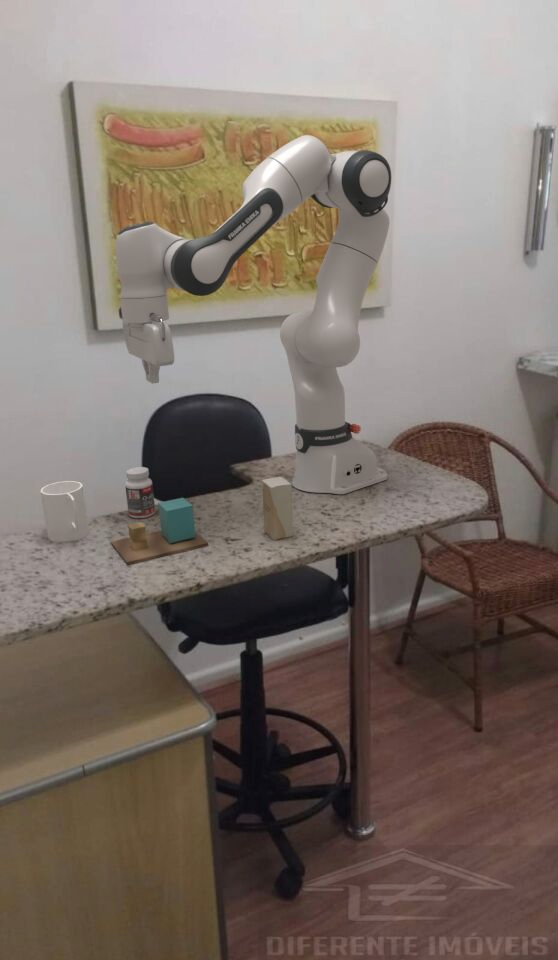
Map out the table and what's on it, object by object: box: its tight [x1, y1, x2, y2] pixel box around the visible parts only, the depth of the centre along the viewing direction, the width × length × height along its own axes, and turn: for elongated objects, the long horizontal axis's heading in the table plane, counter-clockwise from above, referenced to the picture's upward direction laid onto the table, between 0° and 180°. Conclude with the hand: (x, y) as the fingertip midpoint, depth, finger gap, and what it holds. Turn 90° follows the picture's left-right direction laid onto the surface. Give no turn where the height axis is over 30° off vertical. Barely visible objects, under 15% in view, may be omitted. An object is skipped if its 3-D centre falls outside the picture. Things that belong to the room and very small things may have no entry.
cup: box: [40, 480, 90, 543], centre depth 150 cm, size 8×12×10 cm
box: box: [261, 476, 294, 541], centre depth 145 cm, size 5×4×11 cm
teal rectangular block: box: [157, 497, 196, 543], centre depth 145 cm, size 5×5×7 cm
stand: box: [111, 521, 209, 566], centre depth 144 cm, size 16×11×7 cm
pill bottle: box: [124, 466, 156, 519], centre depth 160 cm, size 6×6×10 cm
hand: (152, 382), depth 149 cm, fingers closed
